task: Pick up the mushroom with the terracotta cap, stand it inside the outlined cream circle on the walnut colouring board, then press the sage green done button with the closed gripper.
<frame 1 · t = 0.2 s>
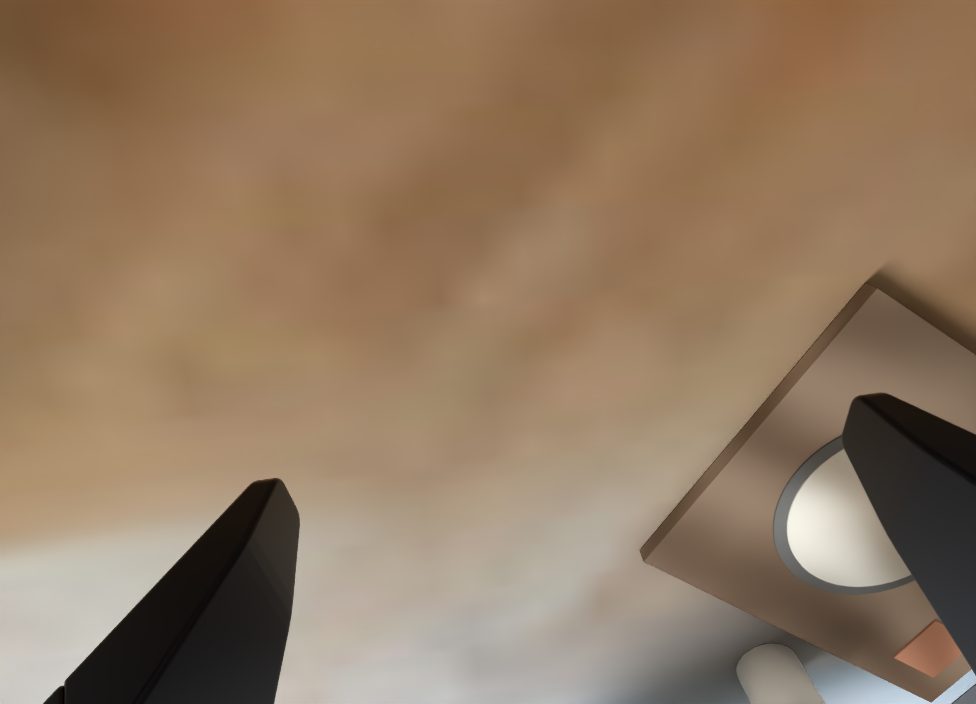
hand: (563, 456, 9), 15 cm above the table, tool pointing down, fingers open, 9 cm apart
colouring board: (897, 518, 29), on the table
mushroom: (766, 666, 32), on the table
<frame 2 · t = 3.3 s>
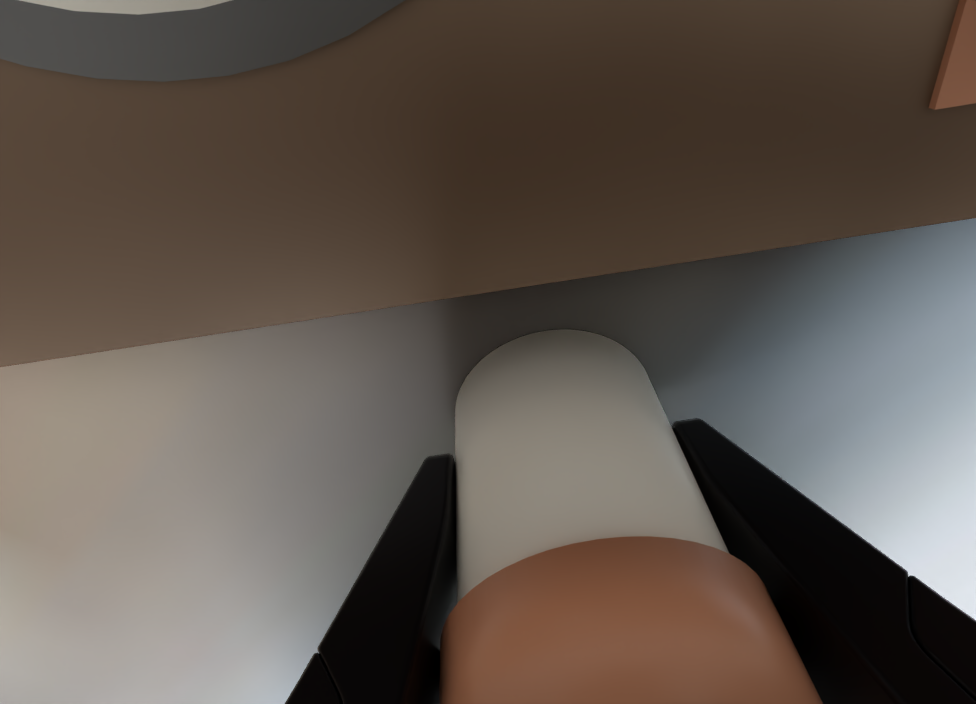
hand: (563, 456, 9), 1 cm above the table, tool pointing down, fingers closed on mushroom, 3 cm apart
mushroom: (553, 412, 10), on the table, touching gripper
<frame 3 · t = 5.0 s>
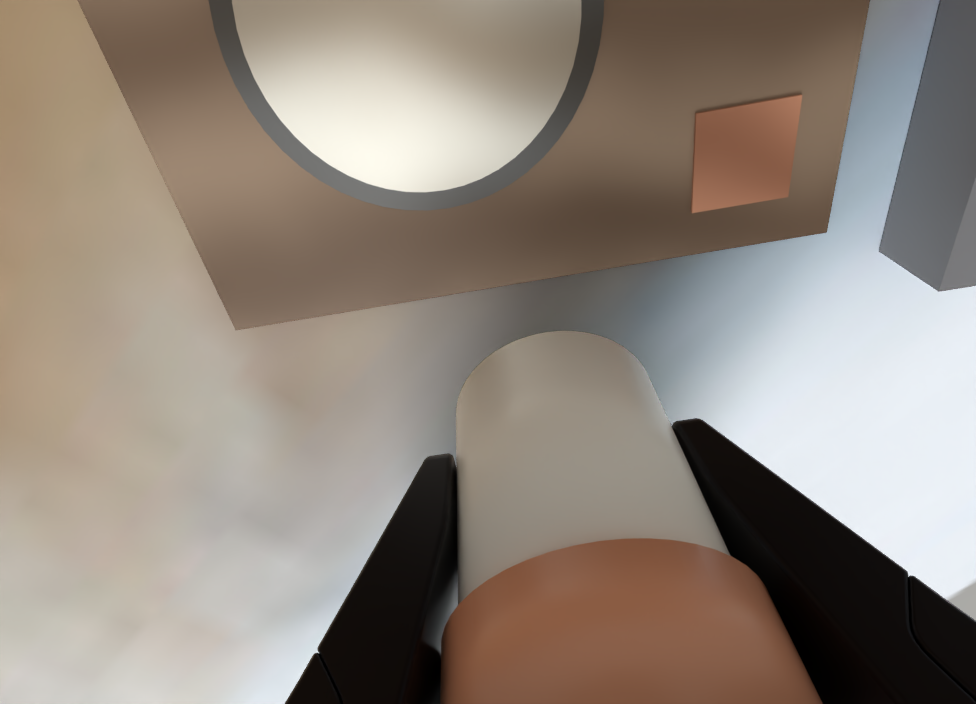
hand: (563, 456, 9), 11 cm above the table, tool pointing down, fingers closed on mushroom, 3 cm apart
colouring board: (485, 6, 15), on the table
mushroom: (554, 413, 10), point 10 cm above the table, touching gripper
when the fingers open (3 cm above the table, at t = 6.9 s): mushroom stays where it is, resting on colouring board.
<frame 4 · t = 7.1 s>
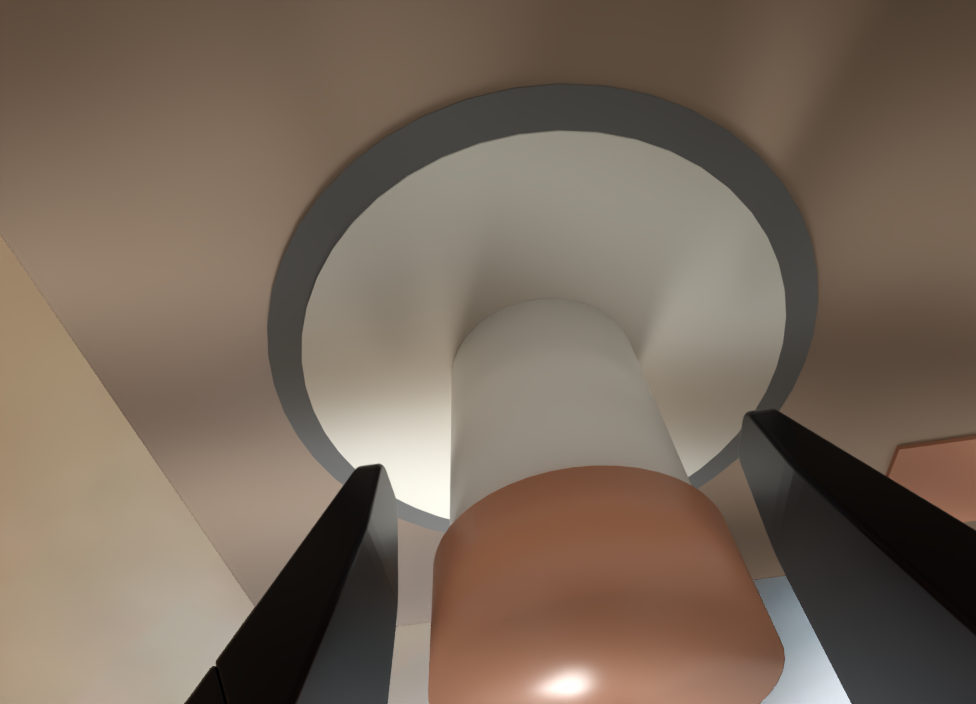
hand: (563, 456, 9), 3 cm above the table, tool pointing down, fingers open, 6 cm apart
colouring board: (637, 331, 11), on the table
mushroom: (543, 377, 11), point 1 cm above the table, touching colouring board
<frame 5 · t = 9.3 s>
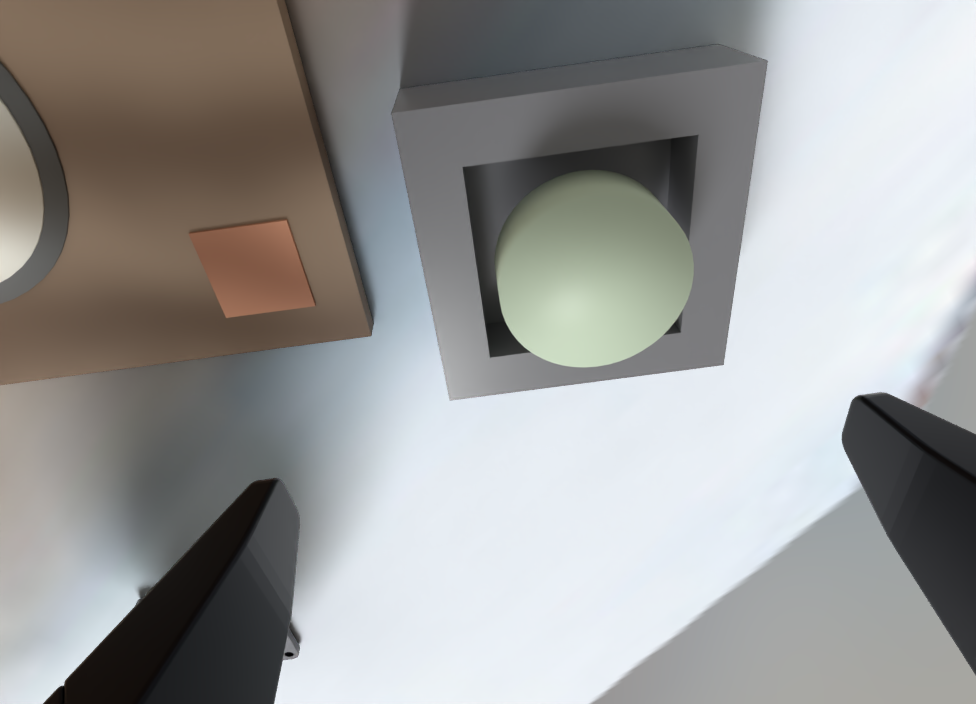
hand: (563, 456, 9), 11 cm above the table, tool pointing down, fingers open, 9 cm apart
done button: (589, 272, 16), point 4 cm above the table, slide at 0.0 cm
button housing: (564, 218, 19), on the table
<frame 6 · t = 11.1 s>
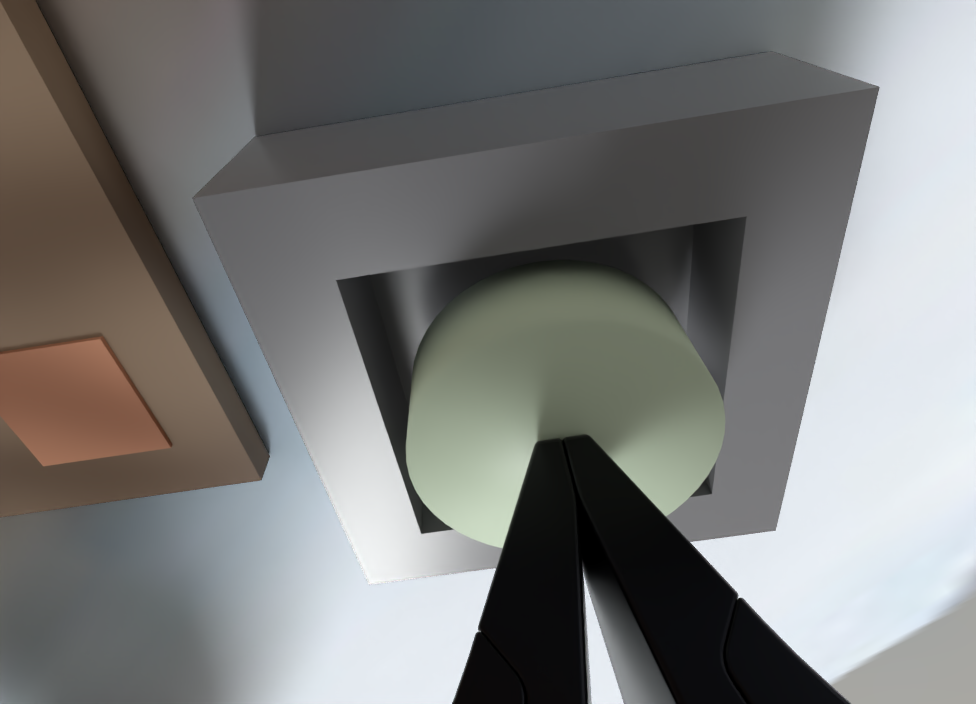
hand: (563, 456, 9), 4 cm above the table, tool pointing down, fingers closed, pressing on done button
done button: (556, 416, 10), point 3 cm above the table, slide at 0.6 cm, touching gripper
button housing: (533, 314, 13), on the table
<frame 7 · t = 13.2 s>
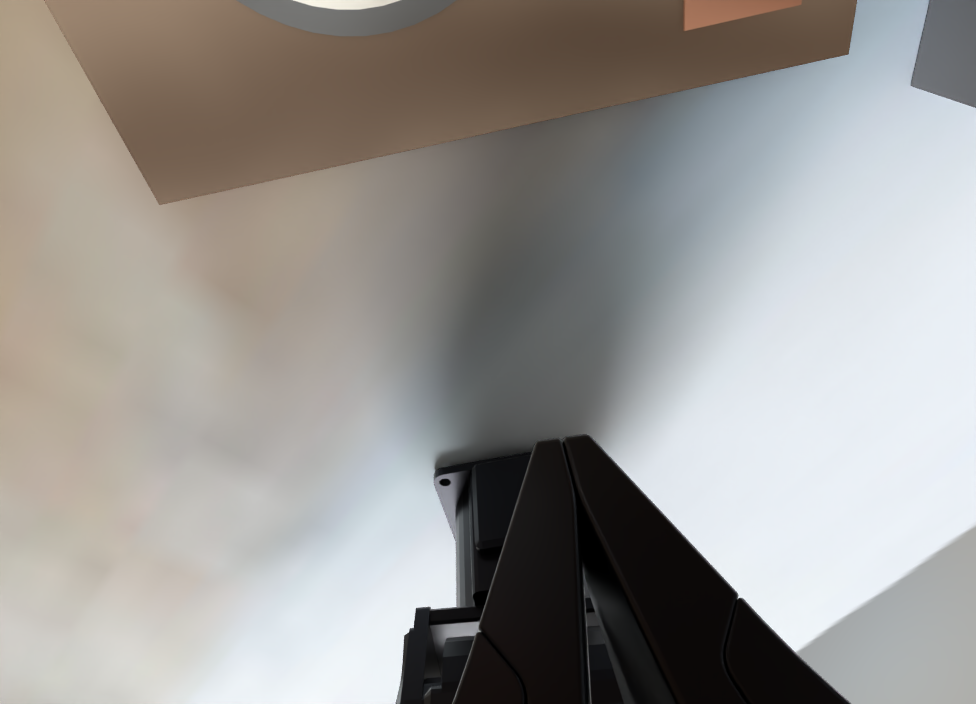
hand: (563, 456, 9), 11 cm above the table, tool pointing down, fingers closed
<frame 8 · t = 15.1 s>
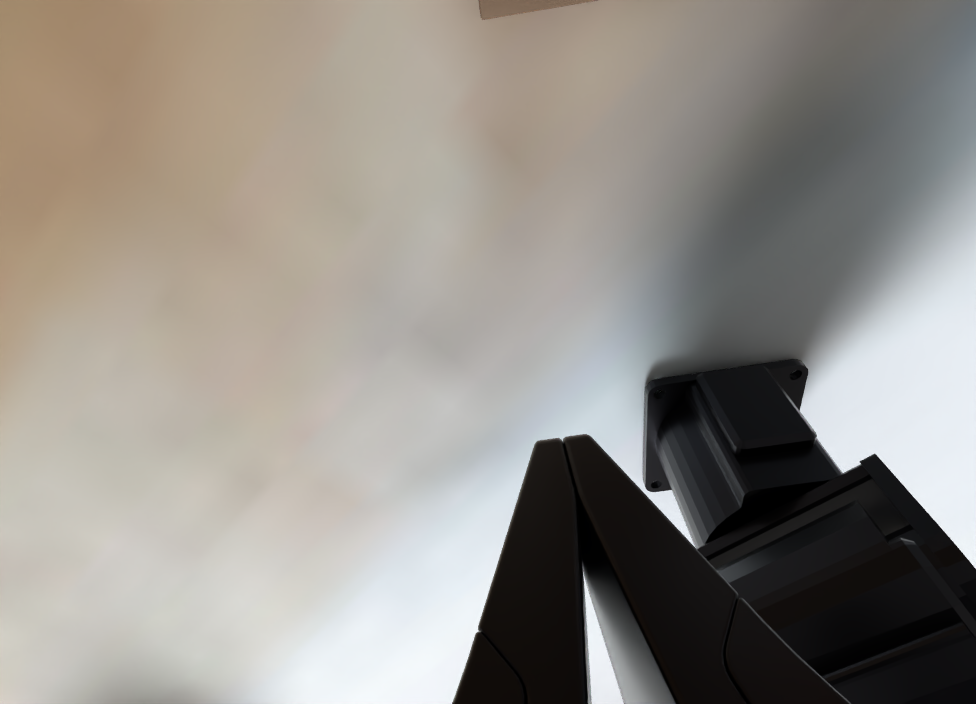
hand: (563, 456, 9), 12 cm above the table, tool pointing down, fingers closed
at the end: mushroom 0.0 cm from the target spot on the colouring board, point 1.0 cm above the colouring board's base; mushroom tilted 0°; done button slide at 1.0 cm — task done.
